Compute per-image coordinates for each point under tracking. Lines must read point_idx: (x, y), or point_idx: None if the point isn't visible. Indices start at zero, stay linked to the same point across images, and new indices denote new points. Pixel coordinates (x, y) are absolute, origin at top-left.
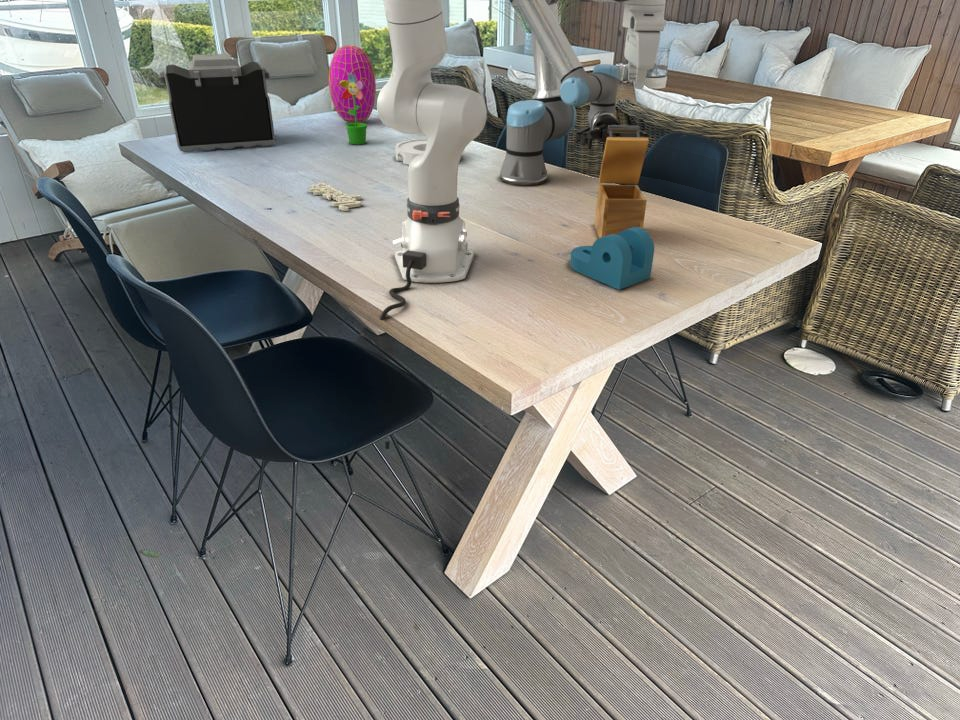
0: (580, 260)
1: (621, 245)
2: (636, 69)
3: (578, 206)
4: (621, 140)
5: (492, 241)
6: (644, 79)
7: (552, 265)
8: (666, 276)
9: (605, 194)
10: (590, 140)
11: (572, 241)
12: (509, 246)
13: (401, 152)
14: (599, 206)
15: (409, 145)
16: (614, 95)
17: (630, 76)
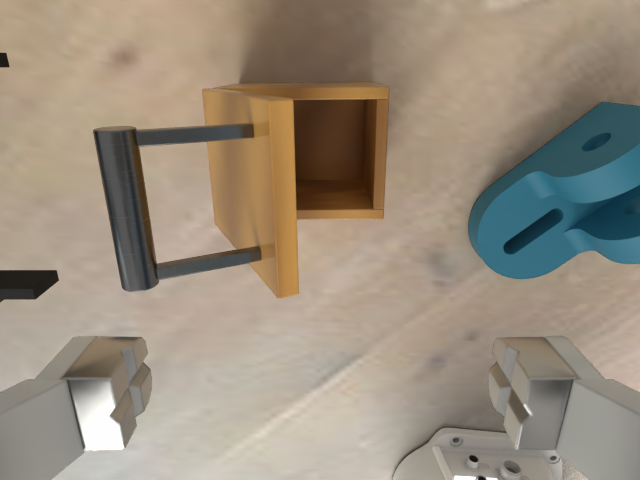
0: (563, 263)
1: None
2: (10, 416)
3: (94, 211)
4: (296, 234)
5: (365, 398)
6: (629, 392)
7: (500, 298)
8: (593, 57)
9: (334, 212)
10: (39, 291)
11: (362, 248)
12: (393, 370)
13: None
14: None
15: None
16: None
17: (131, 423)
